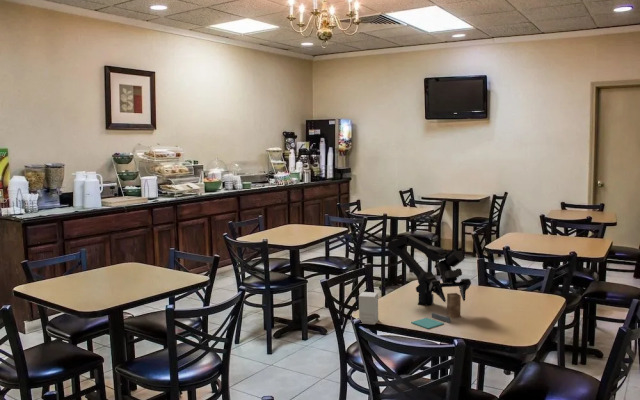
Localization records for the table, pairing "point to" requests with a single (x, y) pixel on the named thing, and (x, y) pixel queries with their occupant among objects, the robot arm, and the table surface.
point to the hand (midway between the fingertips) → (454, 301)
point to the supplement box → (368, 307)
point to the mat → (427, 323)
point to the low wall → (441, 317)
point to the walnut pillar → (453, 305)
